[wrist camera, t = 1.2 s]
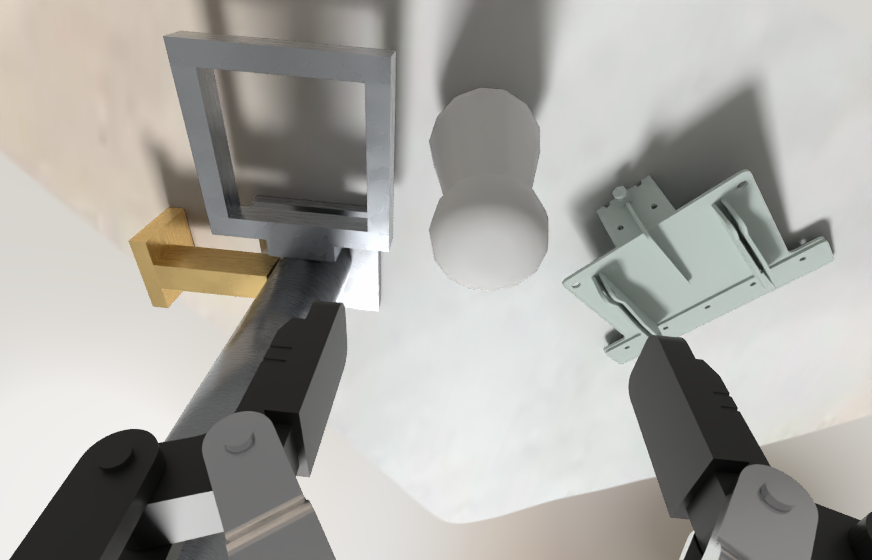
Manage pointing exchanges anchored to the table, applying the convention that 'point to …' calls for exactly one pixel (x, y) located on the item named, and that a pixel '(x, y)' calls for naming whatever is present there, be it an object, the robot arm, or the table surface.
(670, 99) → the table surface
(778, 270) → the metal bracket
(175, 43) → the square post stand
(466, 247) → the salt shaker
